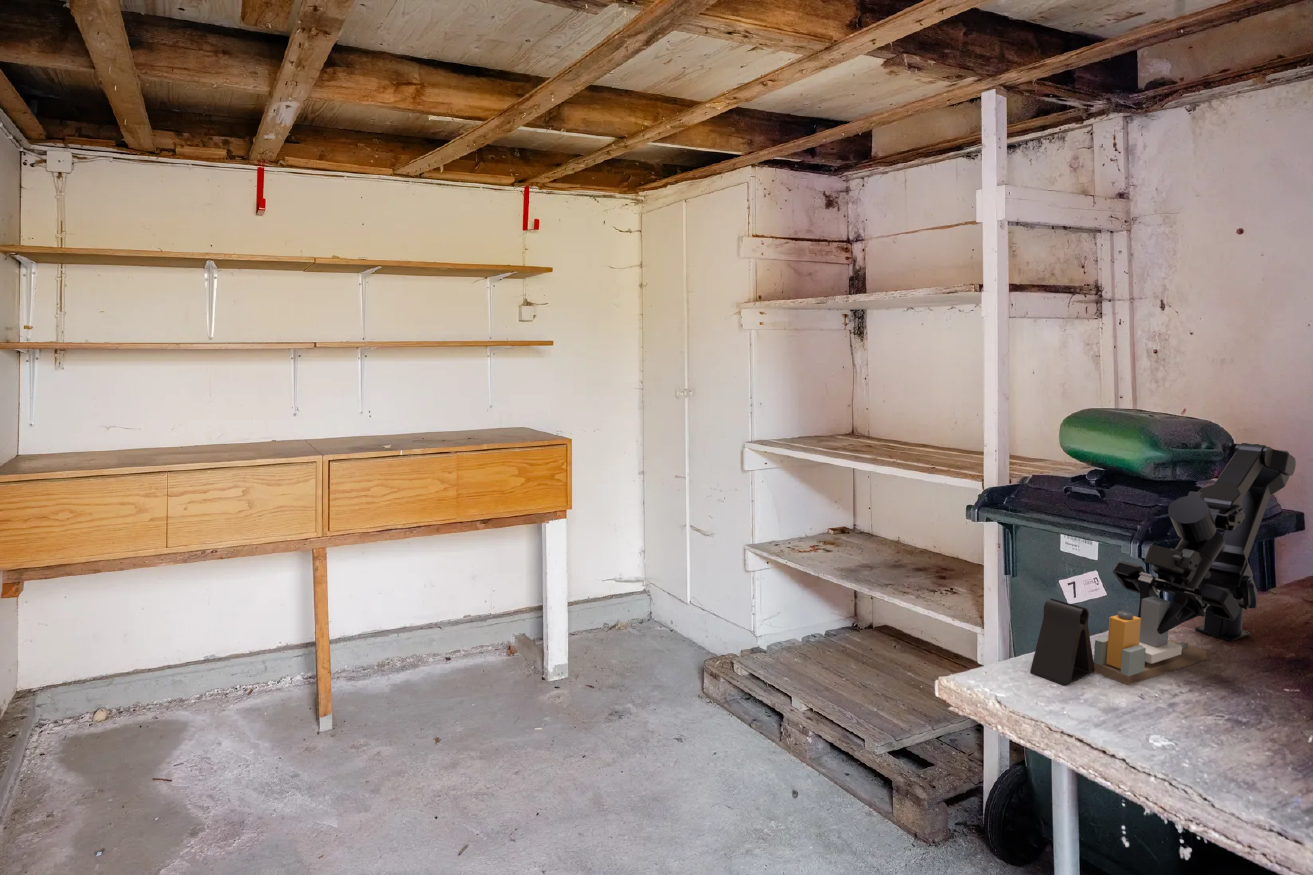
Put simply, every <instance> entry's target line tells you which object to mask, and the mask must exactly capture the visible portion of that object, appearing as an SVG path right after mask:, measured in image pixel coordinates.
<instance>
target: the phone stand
mask: <svg viewBox="0 0 1313 875" xmlns="http://www.w3.org/2000/svg"><path fill="white" fill-rule="evenodd" d="M1089 617H1090V612H1089V609H1088V608H1086V607H1083V606H1079V605H1076V604H1072V603H1069V602H1065V601H1061V600H1059V599H1054V598H1050V599H1046V601H1045V603H1044V605H1043V616H1042V618H1043V619H1042V623H1041V626H1040V630H1039V633H1038V634H1039V635H1038V638H1037V642H1036V646H1035V650H1034V654H1033V659H1032V662H1031V666H1030V670H1029V672H1030V674H1033V675H1036V676H1038V677H1041V678H1044V679H1046V680H1048V681H1052V682H1054V683H1057V684H1060V685H1062V686H1068V685H1071V684H1072V683H1075V682H1077V681H1079V680H1081V679H1084V678H1087V677H1088V676H1089V675H1092V674H1094V673H1095V672H1094V671H1095V668H1094V654H1093V650H1092V644H1091V638H1090V630H1089V629H1090V628H1089Z"/></svg>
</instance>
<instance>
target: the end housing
mask: <svg viewBox="0 0 1313 875" xmlns="http://www.w3.org/2000/svg"><path fill="white" fill-rule="evenodd" d="M1107 647H1108V635H1106V636H1104V637H1099V638H1097V639H1095V640H1094V650H1093V651H1094V652H1093V662H1094V663H1096V664H1099V665H1104V664H1106V661H1107ZM1145 651H1146V648H1145V647H1142V646H1139V645H1136V646H1133V647H1129V648H1126V649H1123V650H1122V661H1121V674H1124V675H1126V676H1131V675H1134V674H1137V673H1140V672H1143V671H1144V665H1145Z"/></svg>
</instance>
